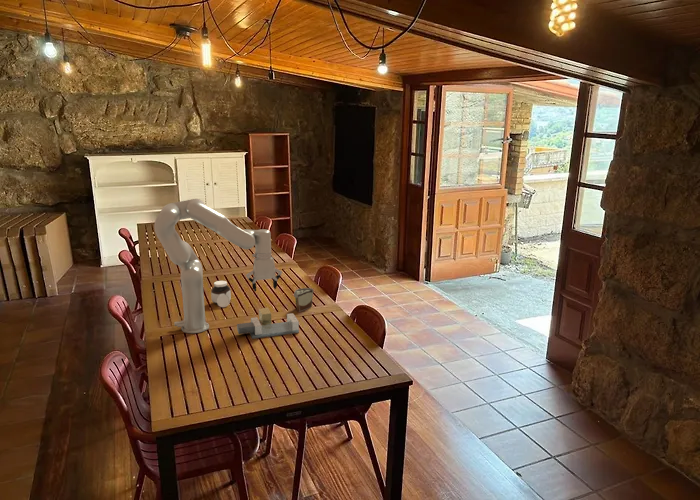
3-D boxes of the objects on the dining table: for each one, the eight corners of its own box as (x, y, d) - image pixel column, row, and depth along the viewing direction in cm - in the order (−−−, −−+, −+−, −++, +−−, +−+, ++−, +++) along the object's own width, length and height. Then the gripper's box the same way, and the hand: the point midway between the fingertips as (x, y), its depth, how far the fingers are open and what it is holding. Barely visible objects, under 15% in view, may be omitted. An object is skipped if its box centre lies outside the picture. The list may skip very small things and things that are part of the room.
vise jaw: (239, 336, 224) (239, 328, 223) (236, 327, 234) (235, 319, 233) (261, 334, 227) (261, 325, 226) (257, 324, 237) (257, 317, 236)
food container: (305, 303, 271) (305, 286, 268) (313, 306, 267) (313, 288, 265) (289, 309, 262) (288, 291, 259) (297, 312, 258) (297, 294, 255)
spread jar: (223, 298, 276) (222, 279, 273) (238, 302, 271) (237, 282, 268) (206, 305, 266) (205, 284, 263) (222, 309, 261) (221, 288, 258)
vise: (252, 339, 226) (251, 327, 225) (248, 329, 236) (247, 318, 235) (298, 332, 234) (298, 321, 232) (293, 323, 244) (293, 313, 242)
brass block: (262, 326, 241) (261, 314, 239) (259, 319, 248) (258, 308, 247) (271, 324, 242) (271, 313, 241) (268, 318, 250) (267, 307, 248)
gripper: (246, 259, 230) (248, 293, 235) (283, 255, 236) (284, 289, 240) (244, 255, 237) (245, 288, 241) (279, 251, 243) (280, 285, 247)
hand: (264, 289), depth 241 cm, fingers open, 9 cm apart
